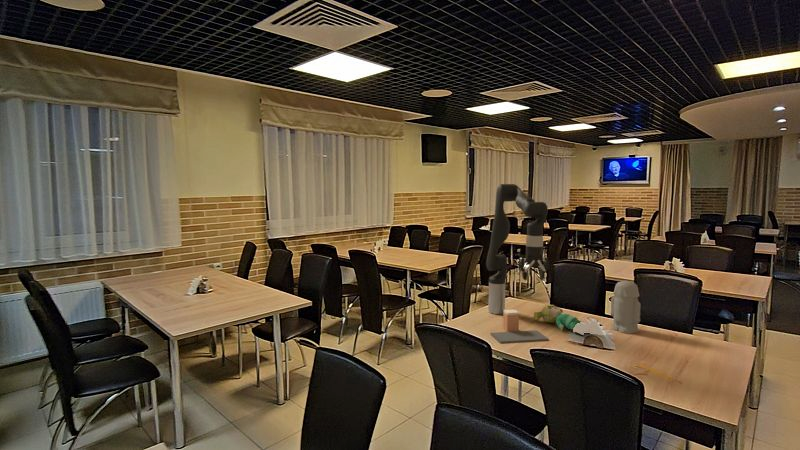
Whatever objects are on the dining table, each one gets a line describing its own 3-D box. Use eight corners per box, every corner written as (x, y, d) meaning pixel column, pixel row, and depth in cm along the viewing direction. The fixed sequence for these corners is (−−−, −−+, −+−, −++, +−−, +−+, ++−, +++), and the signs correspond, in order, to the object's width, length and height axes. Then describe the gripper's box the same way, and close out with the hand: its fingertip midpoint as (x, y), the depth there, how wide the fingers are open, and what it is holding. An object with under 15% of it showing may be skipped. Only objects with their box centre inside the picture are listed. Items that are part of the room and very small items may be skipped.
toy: (579, 326, 201) (531, 302, 226) (575, 346, 203) (528, 319, 228) (601, 321, 209) (552, 297, 234) (597, 339, 212) (549, 314, 237)
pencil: (680, 384, 156) (680, 382, 156) (634, 364, 174) (634, 362, 174) (682, 383, 156) (682, 381, 156) (635, 363, 174) (635, 362, 174)
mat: (490, 334, 208) (490, 332, 208) (536, 331, 211) (536, 330, 211) (499, 343, 196) (499, 341, 196) (548, 340, 200) (548, 338, 200)
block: (503, 329, 215) (503, 310, 214) (514, 328, 216) (514, 309, 215) (507, 332, 210) (507, 312, 209) (518, 332, 211) (519, 312, 210)
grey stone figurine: (604, 327, 218) (606, 279, 215) (615, 324, 223) (617, 277, 221) (633, 336, 206) (636, 285, 203) (644, 331, 211) (647, 282, 209)
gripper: (543, 243, 203) (542, 277, 204) (516, 244, 200) (515, 278, 201) (552, 245, 195) (551, 280, 197) (524, 246, 192) (523, 281, 194)
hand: (533, 279), depth 199 cm, fingers open, 8 cm apart
